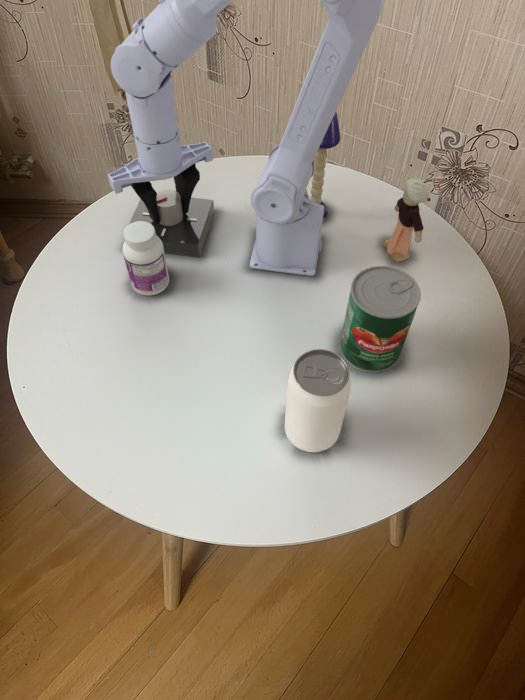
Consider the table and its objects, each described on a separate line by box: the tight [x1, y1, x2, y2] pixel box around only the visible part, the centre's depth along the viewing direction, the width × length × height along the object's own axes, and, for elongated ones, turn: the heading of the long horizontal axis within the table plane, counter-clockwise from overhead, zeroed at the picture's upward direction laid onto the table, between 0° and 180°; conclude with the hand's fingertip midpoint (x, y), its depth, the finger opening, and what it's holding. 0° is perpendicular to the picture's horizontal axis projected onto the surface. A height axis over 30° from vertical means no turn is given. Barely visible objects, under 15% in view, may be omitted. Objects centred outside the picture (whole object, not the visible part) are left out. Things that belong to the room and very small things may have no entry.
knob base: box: [128, 197, 215, 258], centre depth 85 cm, size 11×10×3 cm
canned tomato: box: [339, 265, 422, 374], centre depth 69 cm, size 8×8×11 cm
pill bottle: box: [121, 221, 170, 296], centre depth 76 cm, size 5×5×10 cm
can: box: [284, 348, 352, 453], centre depth 61 cm, size 6×6×12 cm
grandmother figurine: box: [383, 178, 430, 263], centre depth 78 cm, size 8×4×13 cm, turn 27°
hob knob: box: [156, 188, 183, 226], centre depth 82 cm, size 4×4×4 cm
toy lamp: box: [309, 111, 341, 220], centre depth 82 cm, size 5×5×17 cm
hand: (169, 214), depth 83 cm, fingers closed on hob knob, 4 cm apart
